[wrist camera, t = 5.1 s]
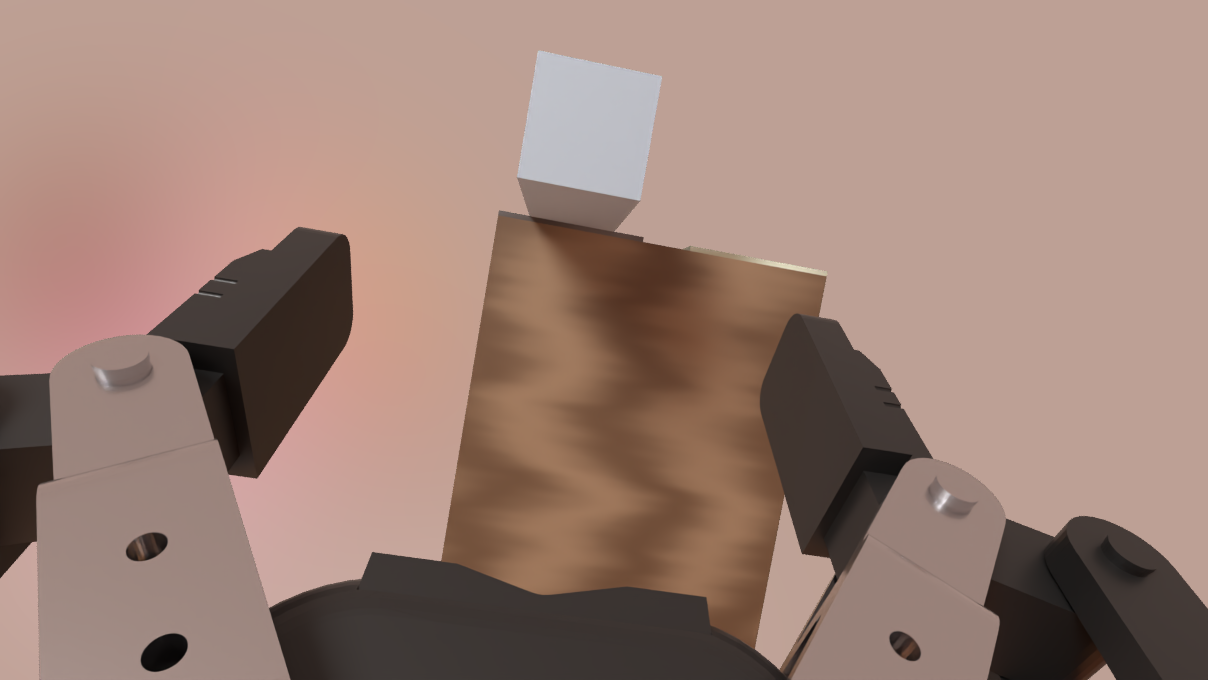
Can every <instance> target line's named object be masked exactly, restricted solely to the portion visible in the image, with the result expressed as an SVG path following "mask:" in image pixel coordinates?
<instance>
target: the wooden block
mask: <svg viewBox="0 0 1208 680" xmlns="http://www.w3.org/2000/svg"><path fill="white" fill-rule="evenodd" d="M826 276H827V271H821V270H816V269H810V268H805V267H800V266H794V265H789V264H784V263H778V262H773V261H767V260H762V259H757V258H752V257H746V256H741V255H735V254H729V253H725V252H719V251H714V250H709V249H703V248H698V247H693V246H690V247H687V248H685V249H677V248H671V247H666V246H661V245H655V244H650V243H645V242H643V237H639V236H634V235H628V234H623V233H617V232H612V231H607V230H601V229H596V228H591V227H585V226H580V225H575V224H569V223H564V222H558V221H553V220H548V219H542V218H537V217H532V216H526V215H521V214H516V213H510V212H505V211H499V214H498V220H497V226H496V232H495V239H494V245H493V251H492V257H491V263H490V269H489V275H488V281H487V287H486V293H485V299H484V305H483V311H482V317H481V324H480V330H479V336H478V342H477V348H476V354H475V360H474V366H473V372H472V379H471V384H470V390H469V396H468V402H467V408H466V414H465V421H464V427H463V433H462V439H461V445H460V451H459V457H458V463H457V469H456V475H455V481H454V487H453V493H452V500H451V506H450V511H449V518H448V524H447V530H446V536H445V542H444V548H443V554H442V560H441V561H442V562H449V563H457V564H460V565H462V566H465V567H467V568H470V569H473V570H475V571H478V572H480V573H483V574H486V575H488V576H491V577H493V578H496V579H499V580H501V581H504V582H506V583H509V584H512V585H514V586H517V587H519V588H522V589H524V590H527V591H530V592H532V593H536V594H541V595H553V594H562V593H571V592H580V591H590V590H599V589H608V588H617V587H627V586H628V587H635V588H643V589H650V590H658V591H665V592H673V593H680V594H687V595H695V596H702V597H707V604H708V612H709V620H710V625H711V626H714V627H716V628H719V629H721V630H723V631H725V632H727V633H729V634H730V635H732V636H734V637H736V638H738V639H740V640H741V641H743V642H744V643H746V644H747V645H749V646H750V647H752V648H753V649H755V644H756V639H757V634H758V628H759V623H760V619H761V613H762V608H763V603H764V598H765V592H766V587H767V582H768V577H769V572H770V566H771V561H772V556H773V551H774V545H775V541H776V536H777V530H778V525H779V520H780V515H781V510H782V504H783V499H784V491H783V487H782V484H781V480H780V477H779V473H778V470H777V467H776V463H775V460H774V456H773V453H772V449H771V446H770V443H769V439H768V436H767V432H766V429H765V425H764V422H763V419H762V415H761V411H760V392H761V387H762V383H763V380H764V377H765V375H766V372H767V370H768V368H769V365H770V363H771V360H772V358H773V356H774V353H775V351H776V348H777V346H778V344H779V341H780V339H781V336H782V334H783V332H784V329H785V327H786V325H787V322H788V321H789V319H790V318H791V317H792V316H793V315H794V314H797V313H798V314H803V315H809V316H815V317H819V313H820V307H821V302H822V297H823V292H824V287H825V282H826Z"/></svg>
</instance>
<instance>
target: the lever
mask: <svg viewBox="0 0 1208 680" xmlns="http://www.w3.org/2000/svg"><path fill="white" fill-rule="evenodd" d="M661 80H662V76H657V75H653V74H648V73H643V72H638V71H633V70H629V69H624V68H619V67H614V66H610V65H605V64H600V63H596V62H591V61H586V60H581V59H577V58H572V57H567V56H562V55H557V54H552V53H548V52H543V51H538V55H537V61H536V67H535V73H534V79H533V85H532V92H531V97H530V103H529V109H528V116H527V121H526V127H525V133H524V139H523V145H522V152H521V157H520V163H519V170H518V175H517V178H518V181H519V184H520V187H521V191H522V193H523V197H524V200H525V203H526V206H527V209H528V212H529V215H530V216H532V217H537V218H542V219H548V220H553V221H558V222H564V223H569V224H575V225H580V226H585V227H591V228H596V229H601V230H607V231H612V232H614V231H615V230H616V229H617V228H618V227H619V225H620V224H621V223H622V222H623V220H624V219H625V218H626V217H627V216H628V215H629V213H630V212H631V211H632V210H633V209H634V208H635V206H636V205H637V204H638V203H639V202H640V199H641V193H642V187H643V181H644V176H645V170H646V165H647V159H648V153H649V148H650V142H651V136H652V131H653V125H654V119H655V113H656V108H657V102H658V97H659V91H660V85H661Z"/></svg>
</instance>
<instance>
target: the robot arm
mask: <svg viewBox="0 0 1208 680" xmlns="http://www.w3.org/2000/svg"><path fill="white" fill-rule="evenodd" d="M352 303H353V301H352V280H351V259H350V245H349V241H348V239H347V237H346V236H345V235H343V234H338V233H332V232H326V231H320V230H315V229H309V228H303V227H298V228H296V229H294V230H293V231H292V232H291V233H290V234H289V235H288V236H287V237H286V238H285V239H284V240H282V241H281V242H280V243H279V244H278V245H277V246H276V247H275V248H274V249H273V250H272V251H270V250H264V249H262V250H259V251H256V252H254V253H251V254H249V255H246V256H244V257H241V258H239V259H236V260H234V261H233V262H231V263H230V264H229V265H228V266H227V267H225V268H224V269H223V270H222V271H221V272H220V273H218V274H217V275H216V276H215V279H214V280H210V281H209V282H208V283H207V284H205V285H204V286H203V287H202V288H201V289H200V290H199V293H198V294H194V295H193V296H191V297H190V298H189V299H188V300H187V301H185V302H184V303H183V304H182V305H181V306H180V307H178V308H177V309H176V310H175V311H174V312H173V313H171V314H170V315H169V316H168V317H167V318H165V319H164V320H163V321H162V322H161V323H160V324H158V325H157V326H156V327H155V328H154V329H153V330H151V331H150V332H149V333H148V334H147V335H126V336H119V337H113V338H108V339H104V340H101V341H97V342H94V343H91V344H88V345H85V346H83V347H81V348H79V349H77V350H75V351H73V352H71V353H70V354H68V355H67V356H65V357H64V358H63V359H62V360H60V361H59V362H58V363H57V364H56V366H55V367H54V368H53V370H52V372H51V373H48V374H31V375H29V374H28V375H5V376H0V578H1V577H2V576H3V574H4V573H5V572H6V571H7V570H8V569H9V568H10V567H11V565H12V564H13V563H14V562H15V561H16V559H18V557H19V556H20V555H21V554H22V553H23V552H24V550H25V549H26V548H27V547H28V546H29V545H30V544H31V543H32V542H36V541H37V563H38V613H39V615H38V616H39V666H40V667H39V668H40V669H39V671H40V680H1088V679H1089V678H1090V677H1091V676H1092V675H1094V674H1095V673H1096V672H1097V671H1098V670H1100V669H1101V668H1102V667H1103V666H1104V665H1106V664H1107V665H1108V667H1109V668H1110V670H1111V672H1112V673H1113V675H1114V677H1115V678H1116V680H1208V609H1207V607H1206V606H1205V605H1204V604H1203V602H1201V600H1200V599H1199V598H1198V596H1197V595H1196V594H1195V593H1194V591H1193V590H1192V589H1191V588H1190V586H1189V585H1188V584H1187V583H1186V582H1185V580H1184V579H1183V578H1182V577H1181V575H1180V574H1179V573H1178V572H1177V570H1176V569H1175V568H1174V567H1173V566H1172V565H1171V564H1170V563H1169V561H1168V560H1167V559H1166V558H1165V557H1164V556H1162V555H1161V554H1160V553H1159V552H1158V551H1157V550H1156V549H1154V548H1153V547H1152V546H1151V545H1149V544H1148V543H1147V542H1145V541H1144V540H1142V539H1141V538H1139V537H1138V536H1136V535H1135V534H1133V533H1131V532H1130V531H1128V530H1126V529H1124V528H1122V527H1120V526H1118V525H1115V524H1113V523H1111V522H1108V521H1105V520H1102V519H1098V518H1095V517H1088V516H1079V517H1075V518H1073V519H1071V520H1070V521H1069V522H1068V523H1067V524H1066V525H1065V526H1064V527H1063V528H1062V530H1061V531H1060V532H1059V533H1058V534H1057V535H1056V536H1055V537H1053V536H1050V535H1047V534H1045V533H1042V532H1040V531H1037V530H1034V529H1032V528H1029V527H1027V526H1024V525H1021V524H1019V523H1016V522H1014V521H1011V520H1008V519H1006V517H1005V512H1004V510H1003V508H1002V506H1001V504H1000V502H999V501H998V499H997V498H996V497H995V496H994V494H993V493H992V492H991V491H990V490H989V489H988V488H987V487H986V486H985V485H984V484H982V483H981V482H980V481H979V480H977V479H976V478H974V477H973V476H972V475H970V474H969V473H967V472H965V471H964V470H962V469H960V468H958V467H956V466H954V465H951V464H949V463H946V462H943V461H939V460H936V459H933V458H932V456H931V454H930V453H929V451H928V449H927V448H926V446H925V444H924V443H923V441H922V439H921V438H920V436H919V434H918V432H917V431H916V429H915V427H914V426H913V424H912V422H911V421H910V419H909V417H908V416H907V414H906V412H905V411H904V409H901V404H900V402H899V401H898V399H897V397H896V395H895V394H894V393H893V392H891V387H890V385H889V384H888V382H887V380H886V379H885V377H884V375H883V374H882V372H881V370H880V369H879V368H878V367H877V366H876V365H874V364H873V363H872V362H871V361H870V360H869V359H868V358H867V357H866V356H865V355H864V354H862V353H861V352H860V351H857V350H854V349H853V347H852V345H851V344H850V342H849V340H848V338H847V336H846V335H845V333H844V331H843V329H842V327H841V326H840V324H839V323H838V322H837V321H835V320H832V319H826V318H821V317H815V316H809V315H803V314H798V313H797V314H794V315H793V316H792V317H791V318H790V319H789V321H788V322H787V325H786V327H785V329H784V332H783V334H782V336H781V339H780V341H779V344H778V346H777V348H776V351H775V353H774V356H773V358H772V360H771V363H770V365H769V368H768V370H767V372H766V375H765V377H764V380H763V383H762V387H761V392H760V411H761V415H762V419H763V422H764V425H765V429H766V432H767V436H768V439H769V443H770V446H771V449H772V453H773V456H774V460H775V463H776V467H777V470H778V473H779V477H780V480H781V484H782V487H783V491H784V494H785V497H786V501H787V504H788V508H789V511H790V515H791V518H792V521H793V525H794V528H795V531H796V535H797V538H798V542H799V545H800V549H801V552H802V554H806V555H814V556H820V557H827V558H830V559H831V562H832V565H833V568H834V570H835V575H834V576H833V578H832V579H831V581H830V582H829V584H828V586H827V588H826V589H825V591H824V593H823V594H822V596H821V598H820V600H819V602H818V603H817V605H816V607H815V609H814V610H813V612H812V614H811V616H810V617H809V619H808V621H807V623H806V625H805V626H804V628H803V630H802V632H801V633H800V635H799V637H798V639H797V640H796V642H795V644H794V646H793V648H792V649H791V651H790V653H789V655H788V656H787V658H786V660H785V662H784V663H783V665H782V667H781V668H780V670H779V669H777V667H776V666H775V665H773V664H772V663H771V662H770V661H769V660H767V659H766V658H765V657H764V656H762V655H761V654H760V653H759V652H758V651H756V650H755V649H753V648H752V647H750V646H749V645H747V644H746V643H744V642H743V641H741V640H740V639H738V638H736V637H734V636H732V635H730V634H729V633H727V632H725V631H723V630H721V629H719V628H716V627H714V626H711V625H710V620H709V612H708V604H707V597H702V596H695V595H687V594H680V593H673V592H665V591H658V590H650V589H643V588H635V587H628V586H627V587H617V588H608V589H599V590H590V591H580V592H571V593H562V594H553V595H541V594H536V593H532V592H530V591H527V590H524V589H522V588H519V587H517V586H514V585H512V584H509V583H506V582H504V581H501V580H499V579H496V578H493V577H491V576H488V575H486V574H483V573H480V572H478V571H475V570H473V569H470V568H467V567H465V566H462V565H460V564H457V563H449V562H442V561H434V560H427V559H419V558H412V557H404V556H397V555H390V554H382V553H375V552H372V554H371V557H370V560H369V562H368V564H367V567H366V569H365V572H364V575H363V577H362V579H358V580H349V581H344V582H340V583H334V584H330V585H325V586H322V587H319V588H316V589H313V590H309V591H306V592H303V593H301V594H298V595H296V596H294V597H291V598H289V599H286V600H284V601H282V602H280V603H278V604H276V605H274V606H272V607H270V608H268V604H267V601H266V598H265V594H264V591H263V587H262V584H261V581H260V578H259V574H258V571H257V568H256V564H255V561H254V558H253V554H252V551H251V548H250V545H249V541H248V538H247V535H246V531H245V528H244V525H243V522H242V518H241V515H240V511H239V508H238V505H237V502H236V498H235V495H234V492H233V488H232V485H231V482H230V479H229V475H236V476H243V477H250V478H258V476H259V475H260V474H261V472H262V470H263V469H264V467H265V466H266V464H267V463H268V461H269V460H270V458H271V457H272V455H273V454H274V452H275V451H276V449H277V448H278V446H279V445H280V443H281V442H282V440H283V439H284V437H285V436H286V434H287V433H288V431H289V429H290V428H291V427H292V425H293V424H294V422H295V421H296V419H297V418H298V416H299V415H300V413H301V412H302V410H303V409H304V407H305V406H306V404H307V403H308V401H309V400H310V398H311V397H312V395H313V394H314V392H315V390H316V389H317V388H318V386H319V385H320V383H321V382H322V380H323V379H324V377H325V376H326V374H327V373H328V371H329V370H330V368H331V366H332V365H333V363H334V362H335V360H336V359H337V357H338V356H339V354H340V353H341V351H342V350H343V348H344V347H345V345H346V343H347V341H348V338H349V335H350V331H351V327H352V320H353V304H352Z"/></svg>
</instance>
